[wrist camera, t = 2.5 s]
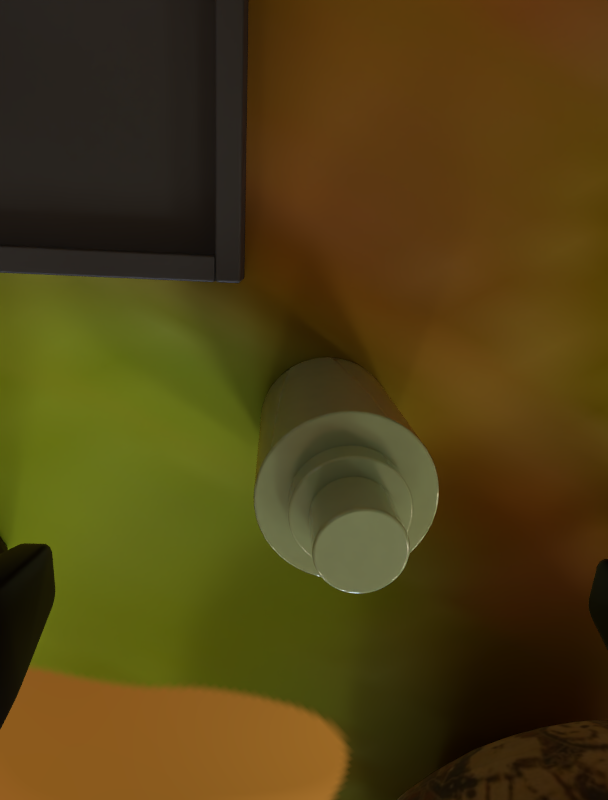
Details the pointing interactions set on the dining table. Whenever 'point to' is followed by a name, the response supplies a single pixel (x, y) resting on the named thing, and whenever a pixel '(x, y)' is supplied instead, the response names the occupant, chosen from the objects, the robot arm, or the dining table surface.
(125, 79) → the tray
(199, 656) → the dining table surface
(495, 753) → the ceramic bowl
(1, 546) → the dark brown piece
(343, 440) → the green bottle
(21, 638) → the robot arm
